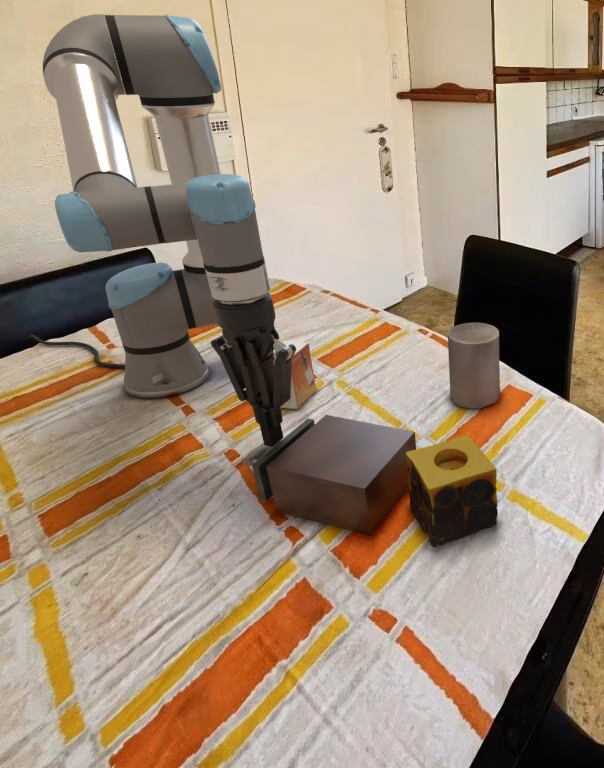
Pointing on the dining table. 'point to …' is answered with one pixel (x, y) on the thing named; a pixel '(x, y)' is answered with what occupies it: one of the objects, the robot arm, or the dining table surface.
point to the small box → (300, 376)
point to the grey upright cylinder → (474, 364)
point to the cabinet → (343, 474)
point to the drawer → (271, 458)
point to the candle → (452, 490)
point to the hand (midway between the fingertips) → (273, 441)
